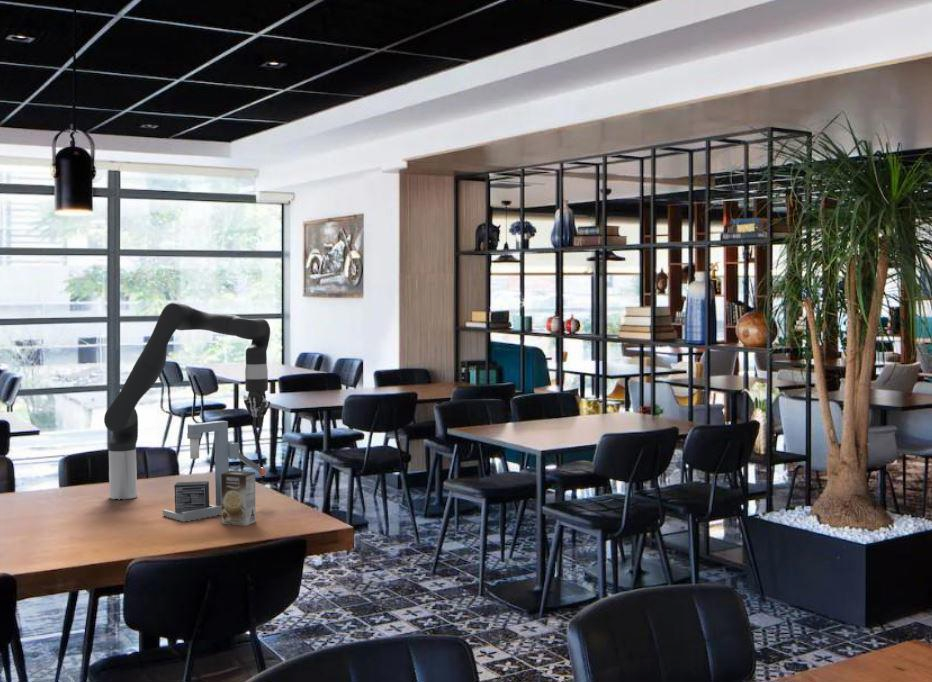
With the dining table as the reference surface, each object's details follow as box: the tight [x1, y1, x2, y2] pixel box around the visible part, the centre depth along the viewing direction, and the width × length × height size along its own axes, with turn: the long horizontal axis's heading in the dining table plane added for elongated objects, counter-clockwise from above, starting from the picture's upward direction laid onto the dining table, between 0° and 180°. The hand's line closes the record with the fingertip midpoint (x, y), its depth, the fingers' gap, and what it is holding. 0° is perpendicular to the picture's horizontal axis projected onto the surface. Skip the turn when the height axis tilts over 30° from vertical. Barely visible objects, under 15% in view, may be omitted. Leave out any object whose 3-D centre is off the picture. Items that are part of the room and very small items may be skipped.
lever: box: [228, 446, 267, 477], centre depth 346 cm, size 3×18×3 cm
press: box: [162, 420, 240, 523], centre depth 336 cm, size 13×23×30 cm, turn 135°
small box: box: [173, 480, 210, 514], centre depth 336 cm, size 11×6×10 cm, turn 97°
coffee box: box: [221, 469, 257, 527], centre depth 322 cm, size 9×6×16 cm
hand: (257, 427), depth 349 cm, fingers closed
